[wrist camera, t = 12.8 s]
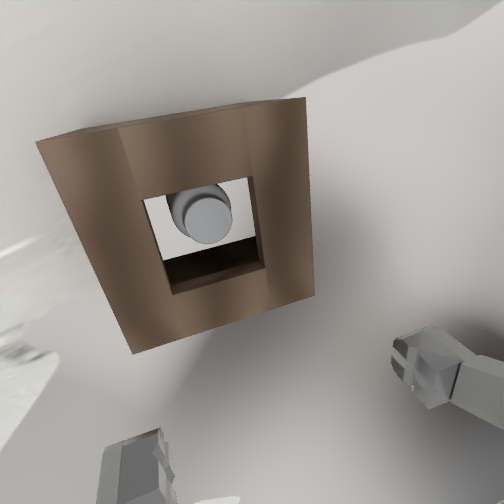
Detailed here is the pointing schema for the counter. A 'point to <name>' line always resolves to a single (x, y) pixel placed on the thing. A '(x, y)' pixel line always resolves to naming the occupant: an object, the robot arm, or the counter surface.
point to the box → (180, 179)
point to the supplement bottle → (201, 213)
